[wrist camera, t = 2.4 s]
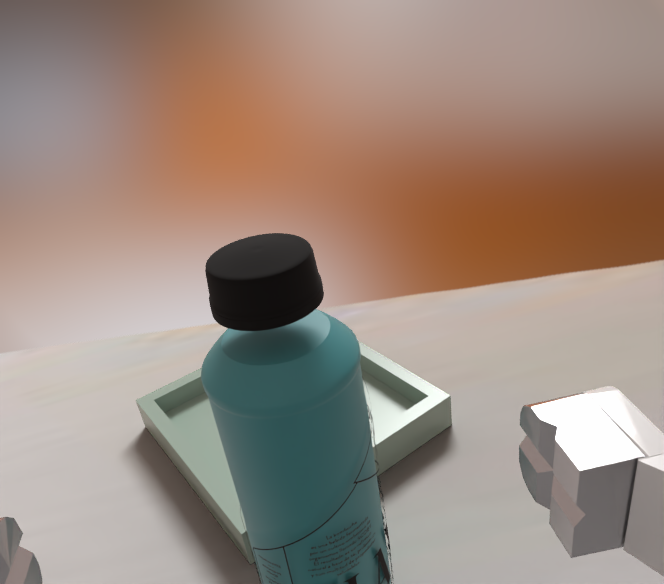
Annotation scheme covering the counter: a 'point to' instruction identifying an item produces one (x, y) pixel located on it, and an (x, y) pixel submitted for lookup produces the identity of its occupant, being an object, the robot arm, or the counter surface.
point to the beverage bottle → (293, 417)
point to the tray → (209, 457)
